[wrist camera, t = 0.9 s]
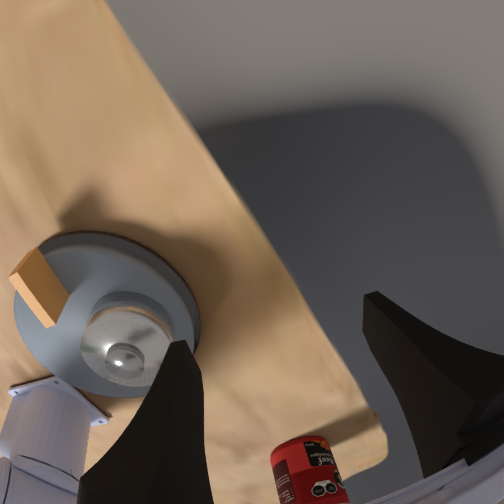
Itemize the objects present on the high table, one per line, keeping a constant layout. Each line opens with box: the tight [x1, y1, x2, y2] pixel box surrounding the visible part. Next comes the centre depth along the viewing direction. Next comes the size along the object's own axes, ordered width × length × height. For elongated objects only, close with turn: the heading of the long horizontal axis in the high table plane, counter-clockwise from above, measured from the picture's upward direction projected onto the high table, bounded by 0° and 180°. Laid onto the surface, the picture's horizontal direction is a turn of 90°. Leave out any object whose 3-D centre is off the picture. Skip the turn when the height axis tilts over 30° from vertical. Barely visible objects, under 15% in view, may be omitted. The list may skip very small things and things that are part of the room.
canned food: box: [270, 436, 350, 504], centre depth 32 cm, size 8×8×11 cm
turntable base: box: [38, 231, 200, 355], centre depth 22 cm, size 15×15×1 cm
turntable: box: [8, 243, 194, 398], centre depth 19 cm, size 15×14×4 cm
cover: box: [80, 291, 175, 387], centre depth 19 cm, size 6×6×4 cm
